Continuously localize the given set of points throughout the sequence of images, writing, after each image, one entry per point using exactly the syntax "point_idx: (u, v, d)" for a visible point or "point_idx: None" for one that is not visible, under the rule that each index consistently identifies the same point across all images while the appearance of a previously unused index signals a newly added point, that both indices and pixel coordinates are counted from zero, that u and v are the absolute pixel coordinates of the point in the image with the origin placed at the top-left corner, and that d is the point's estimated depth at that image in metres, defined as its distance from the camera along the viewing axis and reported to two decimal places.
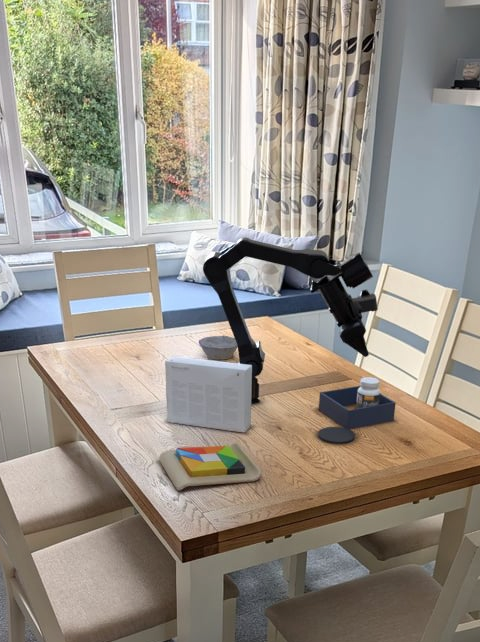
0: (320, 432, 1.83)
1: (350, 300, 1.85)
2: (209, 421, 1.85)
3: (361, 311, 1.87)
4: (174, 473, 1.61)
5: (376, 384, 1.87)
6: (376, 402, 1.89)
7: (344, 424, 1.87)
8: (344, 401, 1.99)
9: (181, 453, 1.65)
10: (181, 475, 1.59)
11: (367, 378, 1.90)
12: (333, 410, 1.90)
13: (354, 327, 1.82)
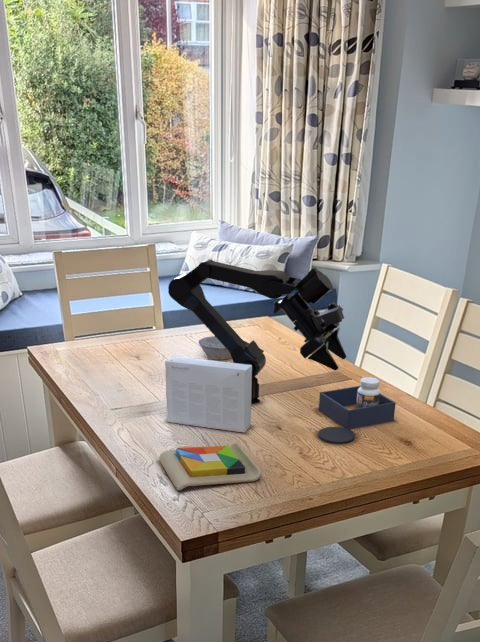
0: (320, 432, 1.83)
1: (311, 315, 1.83)
2: (209, 421, 1.85)
3: (324, 325, 1.83)
4: (174, 473, 1.61)
5: (376, 384, 1.87)
6: (376, 402, 1.89)
7: (344, 424, 1.87)
8: (344, 401, 1.99)
9: (181, 453, 1.65)
10: (181, 475, 1.59)
11: (367, 378, 1.90)
12: (333, 410, 1.90)
13: (311, 342, 1.79)
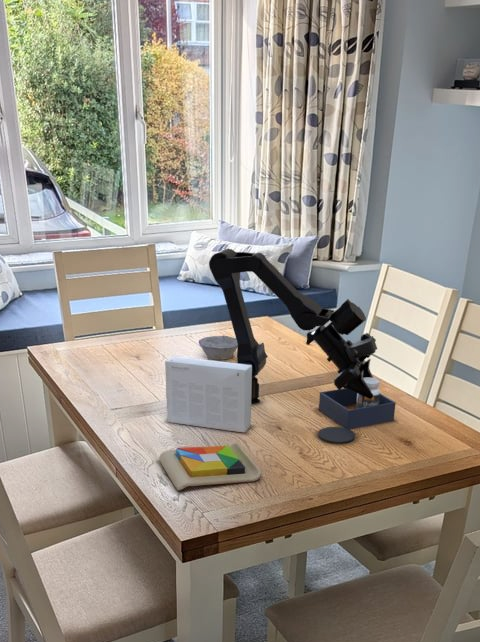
0: (320, 432, 1.83)
1: (345, 347, 1.84)
2: (209, 421, 1.85)
3: (358, 356, 1.84)
4: (174, 473, 1.61)
5: (376, 384, 1.87)
6: (376, 402, 1.89)
7: (344, 424, 1.87)
8: (344, 401, 1.99)
9: (181, 453, 1.65)
10: (181, 475, 1.59)
11: (367, 378, 1.90)
12: (333, 410, 1.90)
13: (345, 374, 1.80)
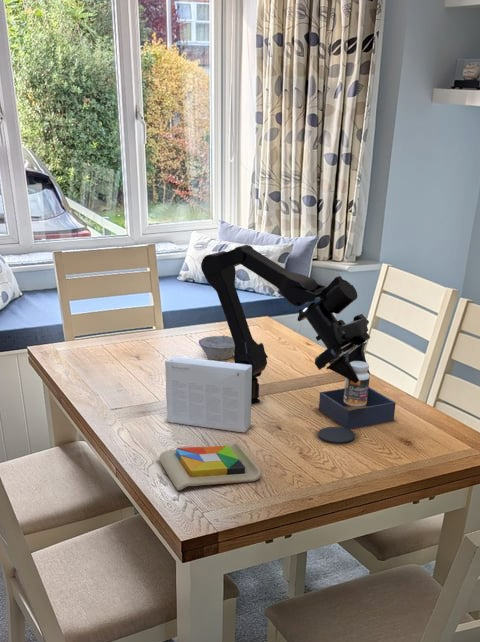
0: (320, 432, 1.83)
1: (333, 326, 1.76)
2: (209, 421, 1.85)
3: (345, 337, 1.75)
4: (174, 473, 1.61)
5: (364, 369, 1.77)
6: (363, 388, 1.79)
7: (344, 424, 1.87)
8: None
9: (181, 453, 1.65)
10: (181, 475, 1.59)
11: (358, 362, 1.80)
12: (333, 410, 1.90)
13: (324, 353, 1.72)
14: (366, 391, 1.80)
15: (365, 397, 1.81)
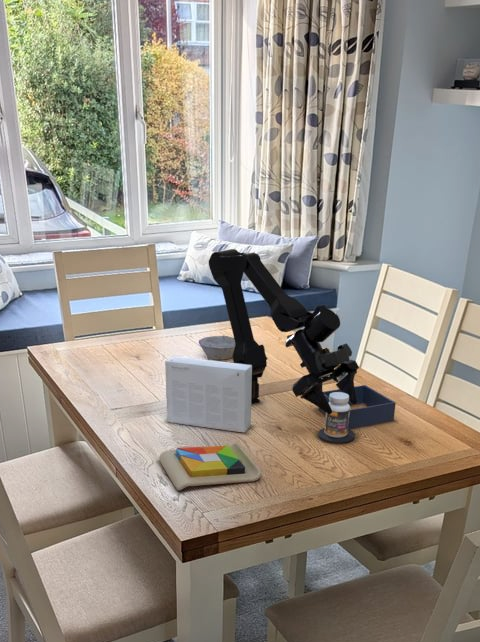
0: (320, 432, 1.83)
1: (314, 354, 1.76)
2: (209, 421, 1.85)
3: (325, 365, 1.74)
4: (174, 473, 1.61)
5: (342, 400, 1.76)
6: (341, 419, 1.78)
7: None
8: None
9: (181, 453, 1.65)
10: (181, 475, 1.59)
11: (339, 393, 1.79)
12: None
13: (300, 381, 1.72)
14: (345, 423, 1.79)
15: (344, 429, 1.79)
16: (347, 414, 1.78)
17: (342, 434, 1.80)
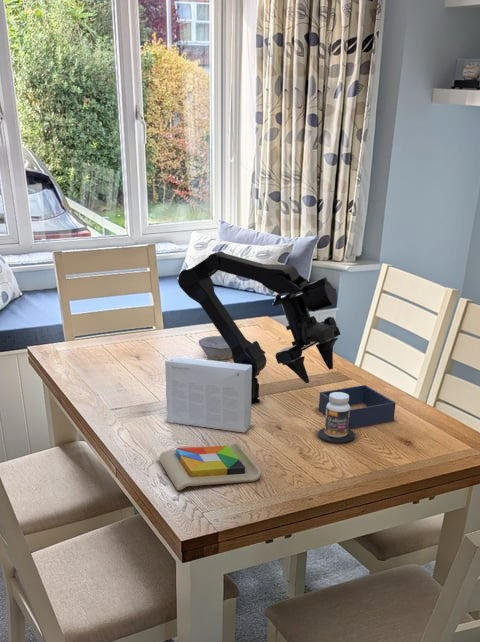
0: (320, 432, 1.83)
1: (301, 324, 1.83)
2: (209, 421, 1.85)
3: (310, 338, 1.83)
4: (174, 473, 1.61)
5: (342, 400, 1.76)
6: (341, 419, 1.78)
7: None
8: None
9: (181, 453, 1.65)
10: (181, 475, 1.59)
11: (339, 393, 1.79)
12: None
13: (284, 353, 1.82)
14: (345, 423, 1.79)
15: (344, 429, 1.79)
16: (347, 414, 1.78)
17: (342, 434, 1.80)
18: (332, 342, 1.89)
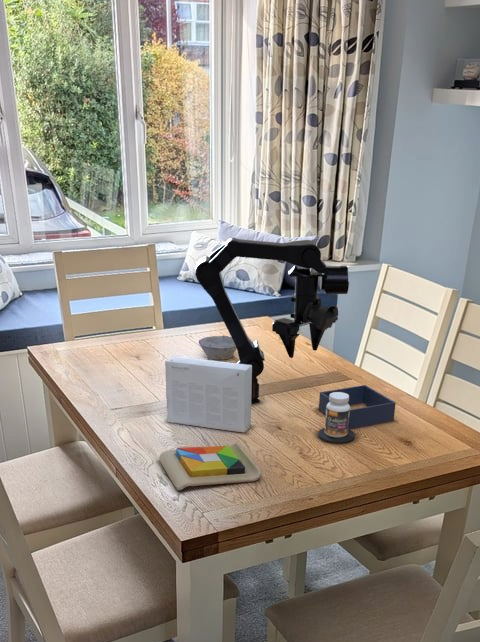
0: (320, 432, 1.83)
1: (307, 304, 1.87)
2: (209, 421, 1.85)
3: (310, 320, 1.88)
4: (174, 473, 1.61)
5: (342, 400, 1.76)
6: (341, 419, 1.78)
7: None
8: None
9: (181, 453, 1.65)
10: (181, 475, 1.59)
11: (339, 393, 1.79)
12: None
13: (283, 325, 1.86)
14: (345, 423, 1.79)
15: (344, 429, 1.79)
16: (347, 414, 1.78)
17: (342, 434, 1.80)
18: (326, 327, 1.95)
